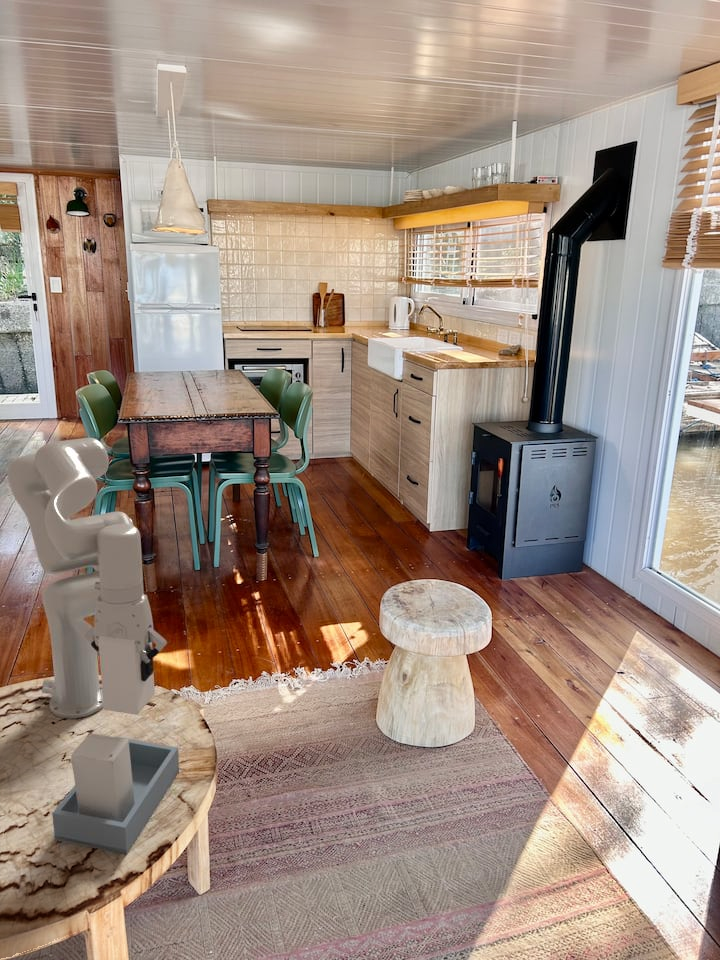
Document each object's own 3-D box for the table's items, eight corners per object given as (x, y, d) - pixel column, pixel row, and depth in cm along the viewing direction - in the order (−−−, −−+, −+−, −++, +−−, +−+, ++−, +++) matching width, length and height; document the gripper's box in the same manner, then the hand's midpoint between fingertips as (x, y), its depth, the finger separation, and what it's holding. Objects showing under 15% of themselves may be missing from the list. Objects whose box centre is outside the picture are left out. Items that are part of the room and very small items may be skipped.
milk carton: (138, 715, 139) (132, 625, 133) (103, 710, 140) (96, 621, 135) (155, 694, 146) (150, 608, 140) (121, 690, 147) (115, 604, 141)
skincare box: (135, 807, 140) (131, 738, 135) (117, 832, 134) (113, 761, 129) (95, 798, 141) (90, 730, 137) (76, 823, 135) (70, 753, 130)
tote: (55, 840, 133) (52, 813, 131) (115, 760, 153) (114, 736, 152) (126, 854, 130) (125, 827, 129) (178, 772, 151) (178, 747, 149)
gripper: (67, 594, 134) (75, 679, 139) (157, 604, 131) (162, 691, 136) (89, 577, 141) (96, 659, 146) (175, 587, 138) (178, 670, 143)
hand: (127, 674), depth 141 cm, fingers closed on milk carton, 7 cm apart
